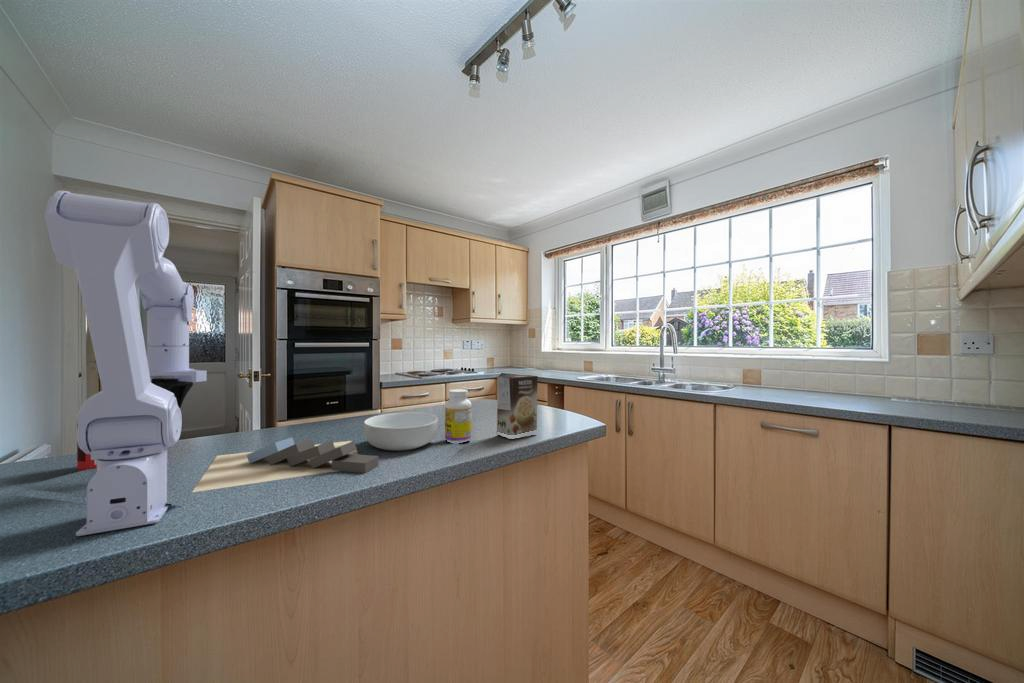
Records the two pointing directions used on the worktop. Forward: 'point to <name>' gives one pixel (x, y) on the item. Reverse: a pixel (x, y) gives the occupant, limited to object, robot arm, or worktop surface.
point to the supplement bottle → (458, 416)
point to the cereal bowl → (401, 430)
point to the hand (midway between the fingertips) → (168, 420)
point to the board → (256, 470)
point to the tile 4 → (332, 454)
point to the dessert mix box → (517, 404)
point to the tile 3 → (311, 453)
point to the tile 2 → (290, 451)
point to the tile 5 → (355, 463)
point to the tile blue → (269, 450)
